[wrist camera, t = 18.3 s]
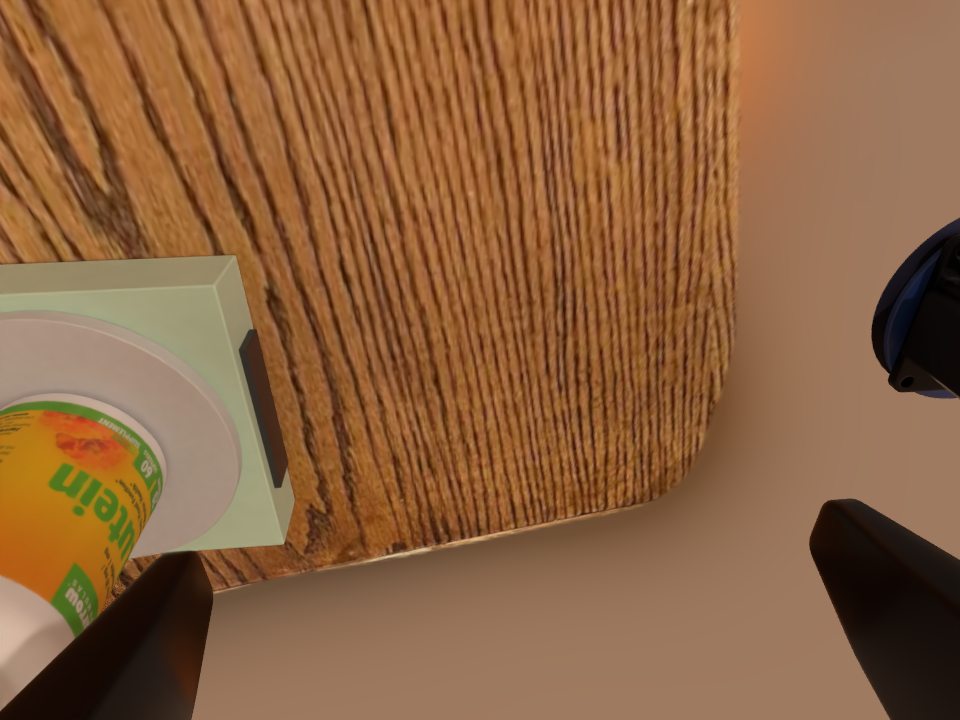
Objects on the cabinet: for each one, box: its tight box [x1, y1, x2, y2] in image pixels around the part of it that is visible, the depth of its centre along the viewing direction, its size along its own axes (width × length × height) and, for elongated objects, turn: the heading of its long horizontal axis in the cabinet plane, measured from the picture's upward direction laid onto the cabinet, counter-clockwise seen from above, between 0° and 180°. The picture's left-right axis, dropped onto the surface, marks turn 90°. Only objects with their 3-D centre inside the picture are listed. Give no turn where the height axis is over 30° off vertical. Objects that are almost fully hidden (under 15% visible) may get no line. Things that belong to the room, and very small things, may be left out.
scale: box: [0, 255, 295, 559], centre depth 21 cm, size 11×11×3 cm
